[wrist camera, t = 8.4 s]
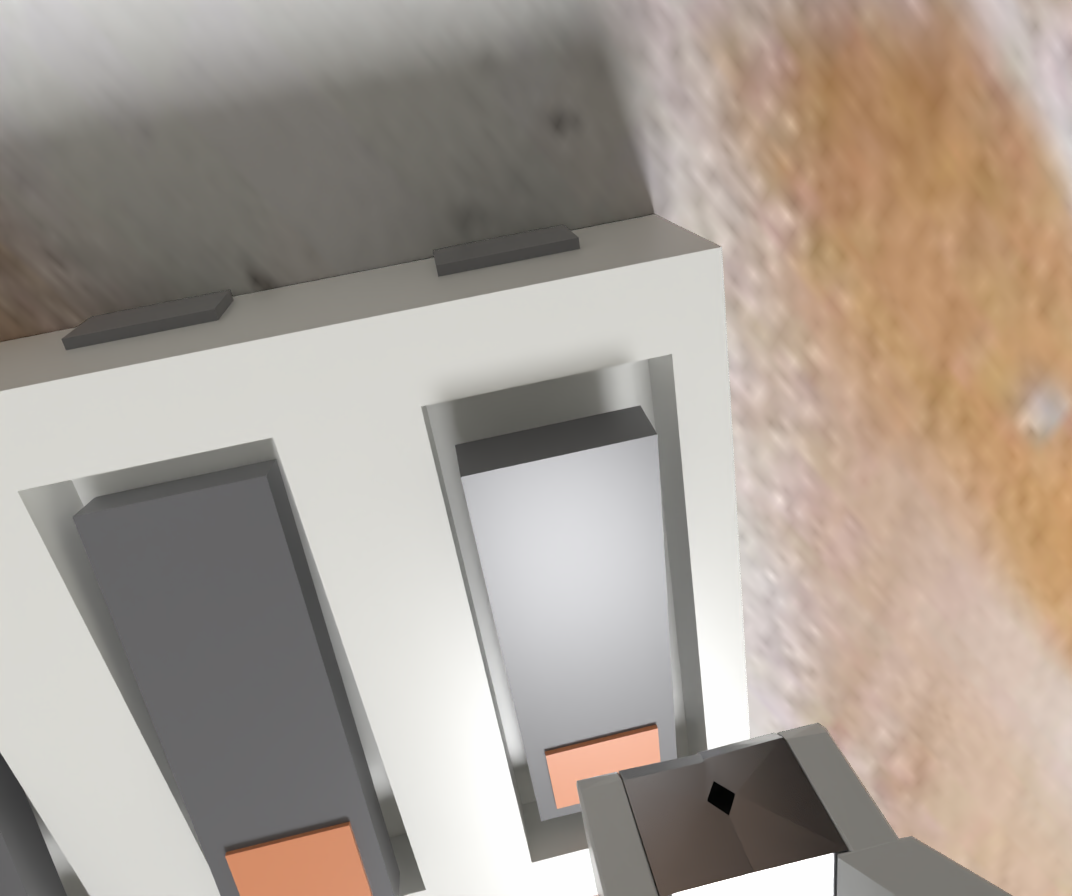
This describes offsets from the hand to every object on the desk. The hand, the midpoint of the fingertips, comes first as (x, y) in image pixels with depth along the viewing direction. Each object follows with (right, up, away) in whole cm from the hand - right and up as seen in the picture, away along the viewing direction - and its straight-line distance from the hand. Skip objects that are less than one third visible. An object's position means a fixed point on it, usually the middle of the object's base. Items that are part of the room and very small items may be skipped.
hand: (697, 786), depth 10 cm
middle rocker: (-9, -2, +9) cm, 13 cm away
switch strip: (-9, -1, +13) cm, 16 cm away
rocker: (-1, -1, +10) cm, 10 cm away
